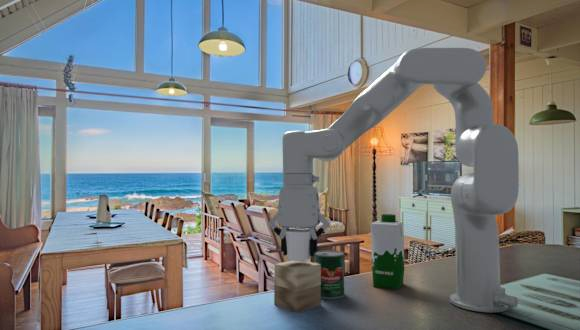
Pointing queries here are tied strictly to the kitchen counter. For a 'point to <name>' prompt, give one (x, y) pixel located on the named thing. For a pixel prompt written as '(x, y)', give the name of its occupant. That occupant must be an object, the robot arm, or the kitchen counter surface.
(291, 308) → the block lower
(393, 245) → the milk carton
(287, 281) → the block upper
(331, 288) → the canned tomato
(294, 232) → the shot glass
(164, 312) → the kitchen counter surface
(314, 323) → the kitchen counter surface
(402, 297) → the kitchen counter surface
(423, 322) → the kitchen counter surface
